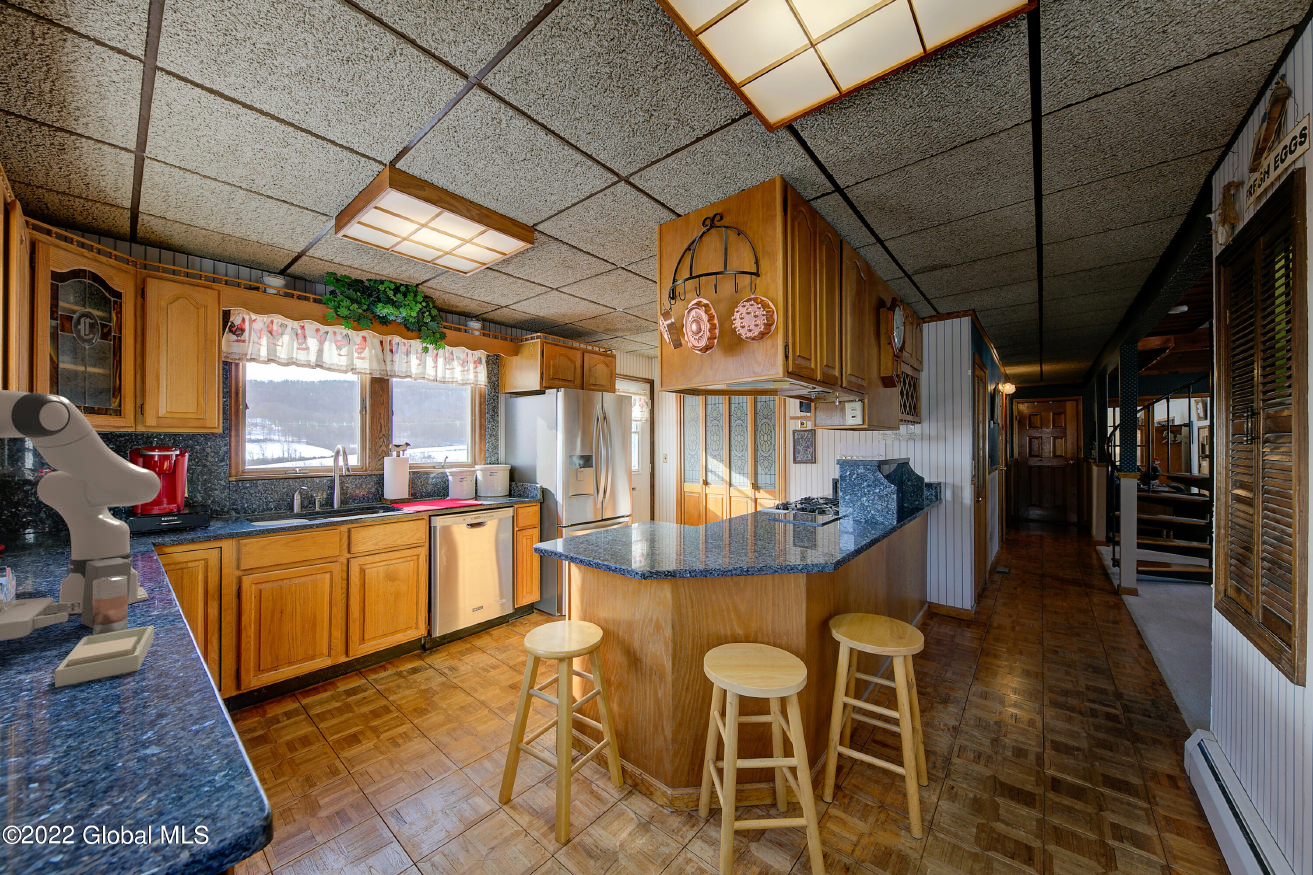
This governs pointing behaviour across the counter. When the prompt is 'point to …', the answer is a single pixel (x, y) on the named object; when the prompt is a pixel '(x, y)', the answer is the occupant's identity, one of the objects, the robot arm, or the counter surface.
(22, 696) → the counter surface
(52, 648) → the counter surface
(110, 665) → the tote
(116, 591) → the steel can
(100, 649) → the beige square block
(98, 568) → the skincare box
